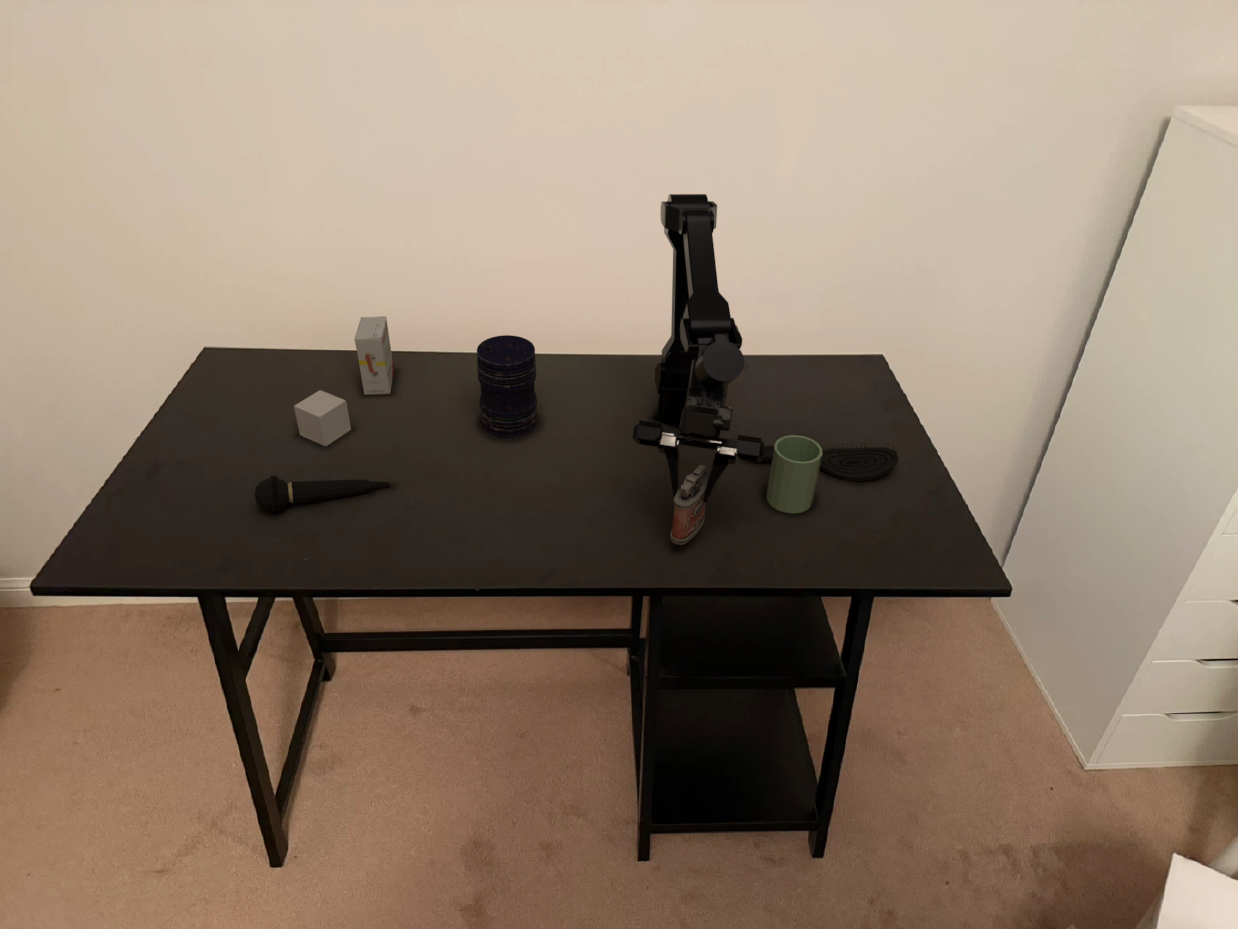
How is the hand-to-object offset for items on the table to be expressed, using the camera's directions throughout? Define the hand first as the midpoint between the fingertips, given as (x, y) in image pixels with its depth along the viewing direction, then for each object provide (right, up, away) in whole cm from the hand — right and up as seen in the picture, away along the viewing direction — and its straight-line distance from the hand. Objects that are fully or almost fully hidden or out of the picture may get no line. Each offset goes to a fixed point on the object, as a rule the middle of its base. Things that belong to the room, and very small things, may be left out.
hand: (689, 500), depth 133 cm
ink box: (-55, +20, +39) cm, 70 cm away
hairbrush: (+24, +5, +23) cm, 34 cm away
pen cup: (+17, 0, +16) cm, 23 cm away
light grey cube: (-61, +10, +26) cm, 67 cm away
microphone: (-56, -1, +11) cm, 57 cm away
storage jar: (-29, +12, +30) cm, 44 cm away
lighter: (0, -5, +5) cm, 7 cm away
